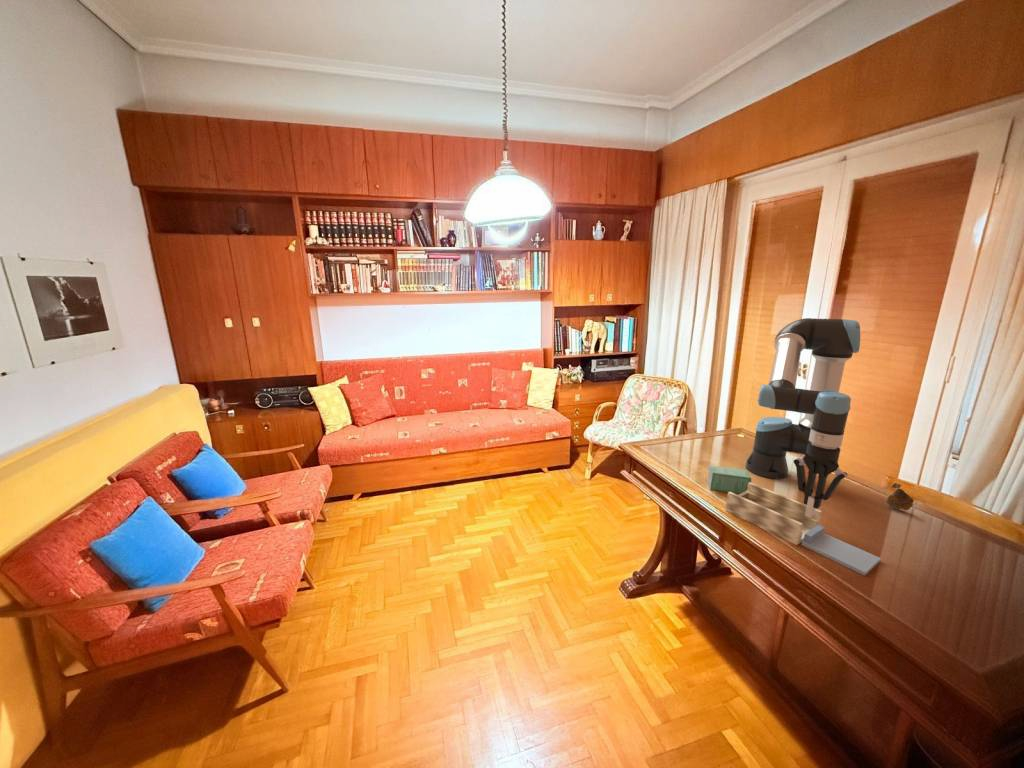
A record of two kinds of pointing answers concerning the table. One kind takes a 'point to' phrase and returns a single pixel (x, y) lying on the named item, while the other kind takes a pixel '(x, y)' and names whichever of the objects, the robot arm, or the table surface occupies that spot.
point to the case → (772, 512)
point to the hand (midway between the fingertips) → (809, 515)
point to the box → (728, 479)
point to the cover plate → (839, 551)
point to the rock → (900, 499)
